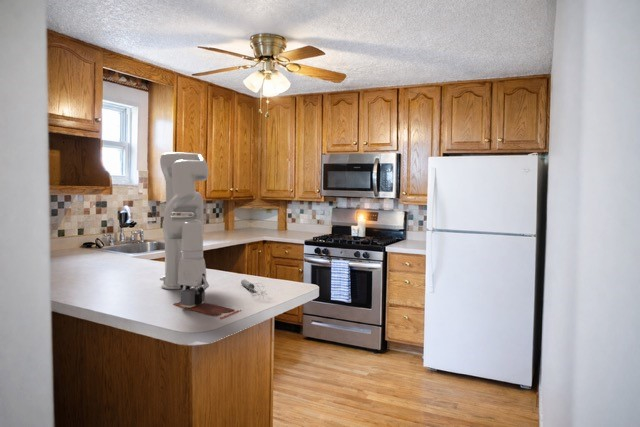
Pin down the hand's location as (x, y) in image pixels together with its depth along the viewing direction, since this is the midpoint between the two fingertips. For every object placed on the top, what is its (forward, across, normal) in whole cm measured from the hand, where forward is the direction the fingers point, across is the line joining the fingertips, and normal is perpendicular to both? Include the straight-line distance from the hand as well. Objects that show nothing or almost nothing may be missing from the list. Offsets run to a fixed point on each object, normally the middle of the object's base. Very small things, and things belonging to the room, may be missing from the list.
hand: (192, 302), depth 165 cm
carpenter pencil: (+2, +18, -2) cm, 18 cm away
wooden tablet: (+2, +3, +2) cm, 4 cm away
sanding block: (+1, 0, 0) cm, 1 cm away
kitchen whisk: (+2, +5, +30) cm, 31 cm away
